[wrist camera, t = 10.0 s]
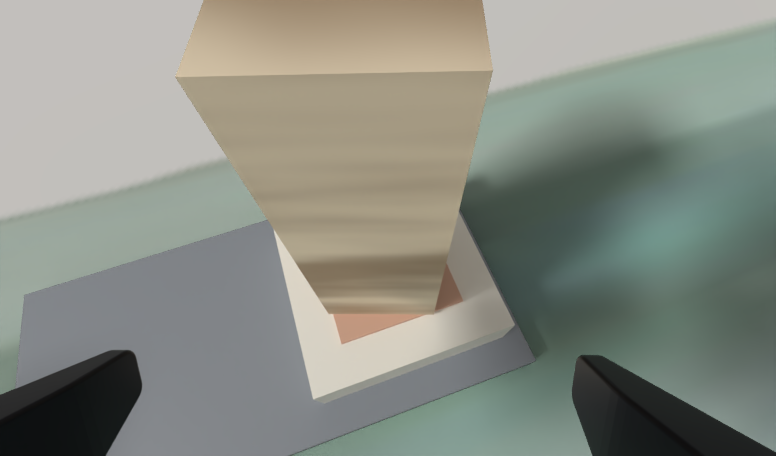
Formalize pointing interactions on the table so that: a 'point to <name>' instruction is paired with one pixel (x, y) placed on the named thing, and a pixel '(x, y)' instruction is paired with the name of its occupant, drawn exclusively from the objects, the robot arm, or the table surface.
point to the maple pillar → (348, 132)
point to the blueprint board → (266, 346)
